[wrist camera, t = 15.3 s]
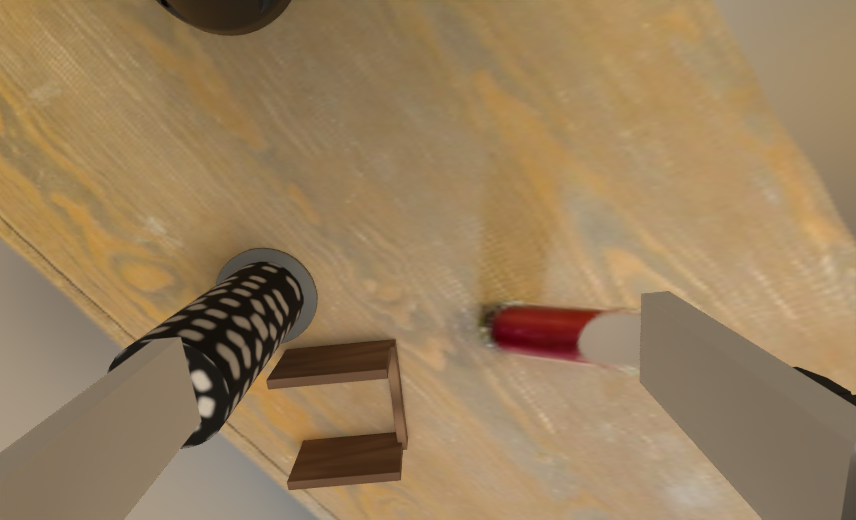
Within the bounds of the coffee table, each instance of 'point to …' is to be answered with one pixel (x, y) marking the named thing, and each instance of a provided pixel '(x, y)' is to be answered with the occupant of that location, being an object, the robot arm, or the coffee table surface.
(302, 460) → the rack
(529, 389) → the coffee table surface
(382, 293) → the coffee table surface
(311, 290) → the coaster
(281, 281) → the spotted tube
